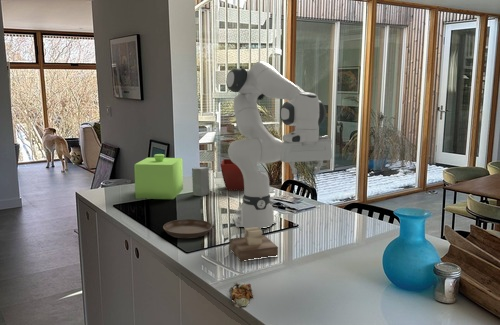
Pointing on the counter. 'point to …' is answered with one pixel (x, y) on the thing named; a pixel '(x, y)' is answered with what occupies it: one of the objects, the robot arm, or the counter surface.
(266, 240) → the walnut base
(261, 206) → the robot arm
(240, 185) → the plant pot
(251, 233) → the maple cube
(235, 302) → the pastry
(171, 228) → the plant saucer
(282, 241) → the counter surface
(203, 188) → the skincare box
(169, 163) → the canister
